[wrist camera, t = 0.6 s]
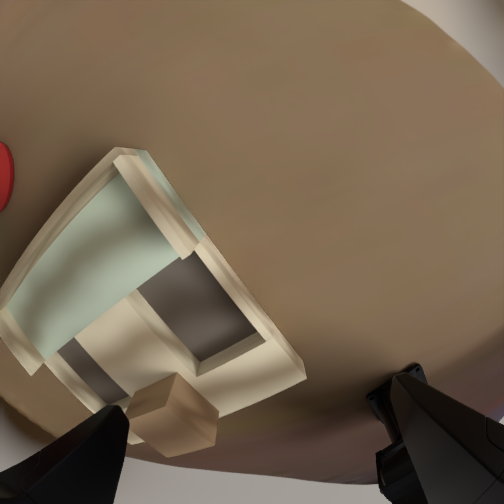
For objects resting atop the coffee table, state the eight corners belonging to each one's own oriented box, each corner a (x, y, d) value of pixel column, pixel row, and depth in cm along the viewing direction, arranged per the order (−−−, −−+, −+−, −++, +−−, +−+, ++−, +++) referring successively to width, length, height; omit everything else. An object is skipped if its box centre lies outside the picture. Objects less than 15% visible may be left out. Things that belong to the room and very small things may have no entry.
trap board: (302, 360, 23) (311, 400, 18) (137, 430, 27) (125, 461, 22) (146, 150, 19) (114, 146, 14) (14, 295, 22) (-14, 315, 18)
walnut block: (219, 411, 22) (214, 445, 18) (175, 426, 23) (167, 457, 19) (177, 372, 21) (165, 406, 17) (135, 391, 22) (120, 422, 18)
